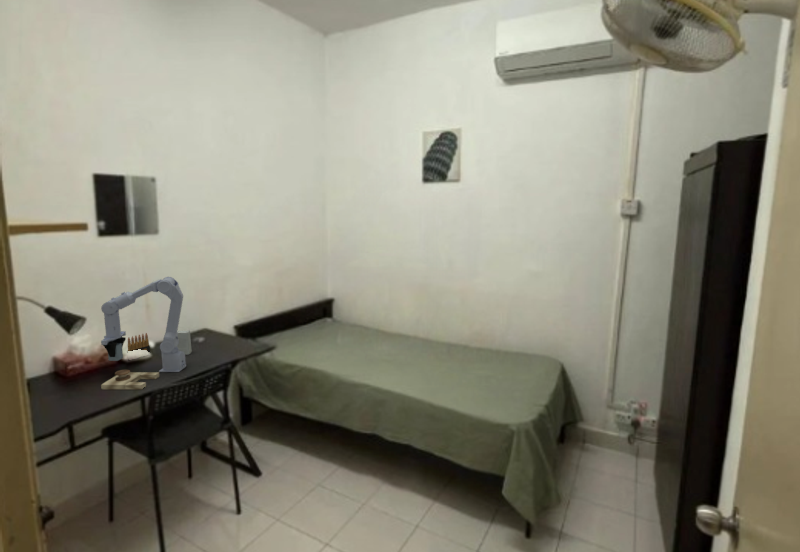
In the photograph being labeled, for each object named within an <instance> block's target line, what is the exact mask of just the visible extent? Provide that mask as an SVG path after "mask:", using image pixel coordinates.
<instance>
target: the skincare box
mask: <svg viewBox="0 0 800 552" xmlns="http://www.w3.org/2000/svg"><path fill="white" fill-rule="evenodd" d="M177 332H178V339H179V343H178V345H177V347H178V349H179V351H183V352H184V353H185V356H186V355H187V356H188V355H190V354H191V353H192V343H191V342H192V341H191V330H177Z"/></svg>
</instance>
